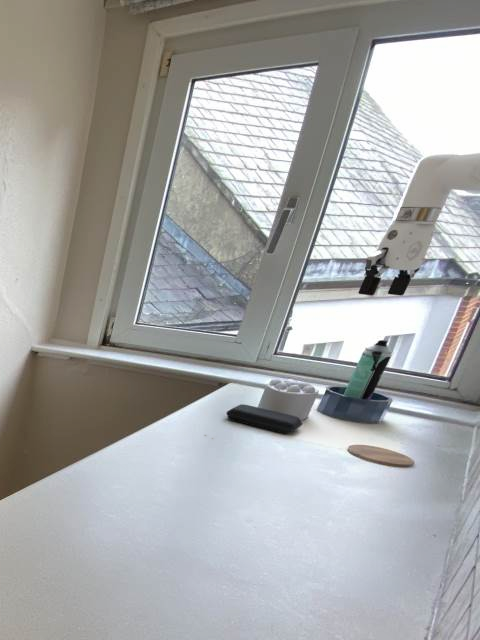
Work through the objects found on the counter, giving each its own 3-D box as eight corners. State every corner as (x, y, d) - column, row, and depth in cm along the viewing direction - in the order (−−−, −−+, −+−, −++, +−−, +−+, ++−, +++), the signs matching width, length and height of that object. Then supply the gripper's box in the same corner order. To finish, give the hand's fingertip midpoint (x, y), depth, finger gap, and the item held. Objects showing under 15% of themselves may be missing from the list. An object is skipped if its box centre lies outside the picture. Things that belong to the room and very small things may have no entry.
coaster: (426, 466, 117) (428, 463, 117) (383, 467, 116) (384, 465, 115) (375, 446, 127) (376, 444, 126) (334, 447, 125) (335, 444, 125)
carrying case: (302, 428, 136) (236, 411, 146) (308, 416, 135) (240, 400, 145) (290, 437, 130) (222, 419, 140) (295, 425, 129) (226, 407, 139)
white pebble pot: (312, 415, 146) (326, 384, 142) (293, 424, 139) (308, 391, 135) (267, 404, 153) (280, 374, 150) (248, 412, 147) (260, 380, 143)
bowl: (395, 423, 143) (406, 401, 140) (350, 423, 141) (361, 401, 138) (345, 406, 155) (355, 385, 152) (304, 406, 153) (313, 385, 150)
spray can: (365, 419, 145) (402, 343, 136) (340, 416, 147) (375, 341, 138) (356, 413, 150) (391, 339, 141) (331, 410, 151) (365, 337, 142)
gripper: (407, 215, 121) (370, 296, 128) (461, 218, 125) (423, 297, 132) (370, 215, 127) (337, 292, 135) (423, 218, 131) (389, 292, 139)
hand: (380, 294), depth 133 cm, fingers open, 9 cm apart
